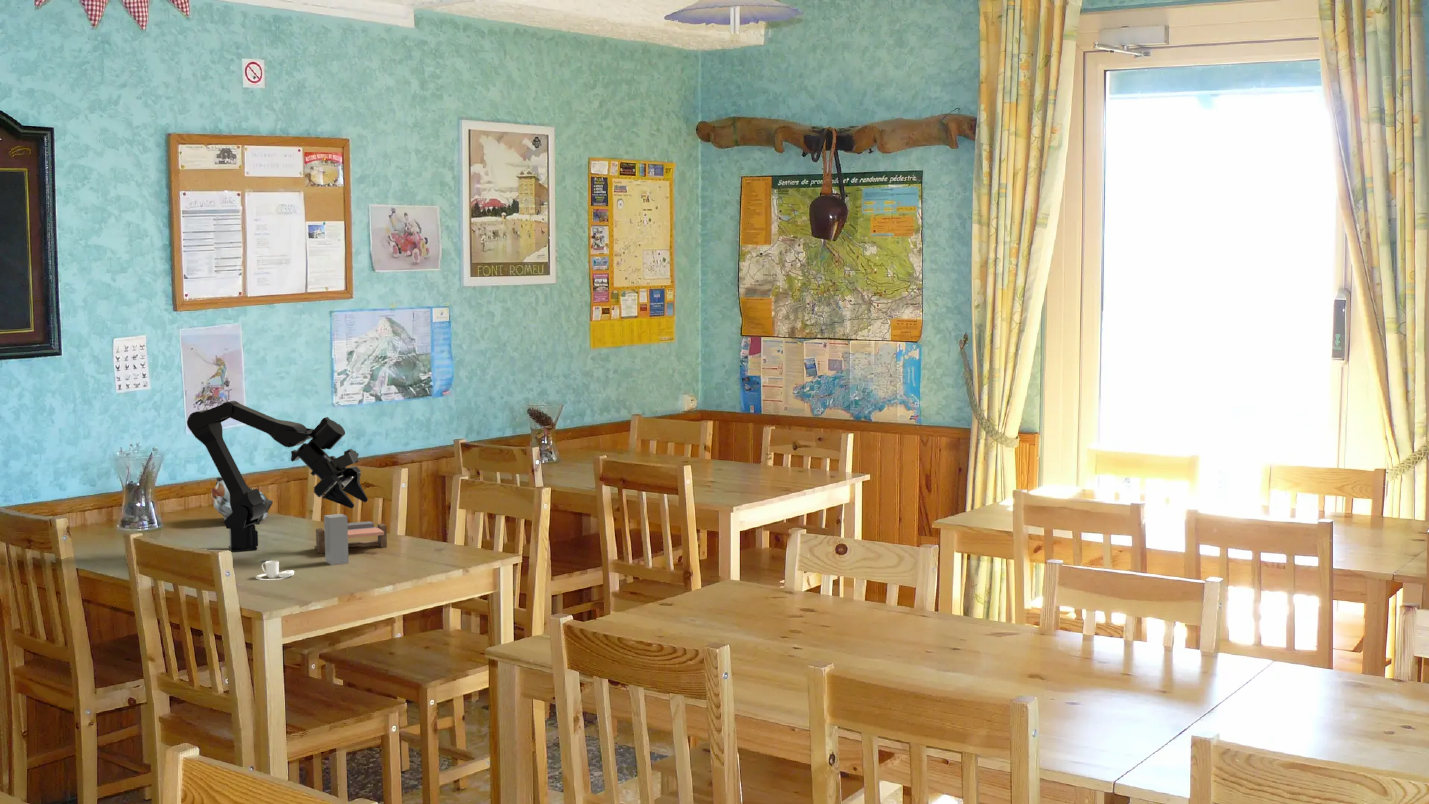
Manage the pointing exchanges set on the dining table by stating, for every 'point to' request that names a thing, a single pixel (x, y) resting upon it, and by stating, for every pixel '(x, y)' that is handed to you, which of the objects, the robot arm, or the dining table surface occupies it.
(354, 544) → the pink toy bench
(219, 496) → the lucky cat figurine
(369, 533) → the pink flat slab
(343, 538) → the stone block
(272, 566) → the teacup and saucer
